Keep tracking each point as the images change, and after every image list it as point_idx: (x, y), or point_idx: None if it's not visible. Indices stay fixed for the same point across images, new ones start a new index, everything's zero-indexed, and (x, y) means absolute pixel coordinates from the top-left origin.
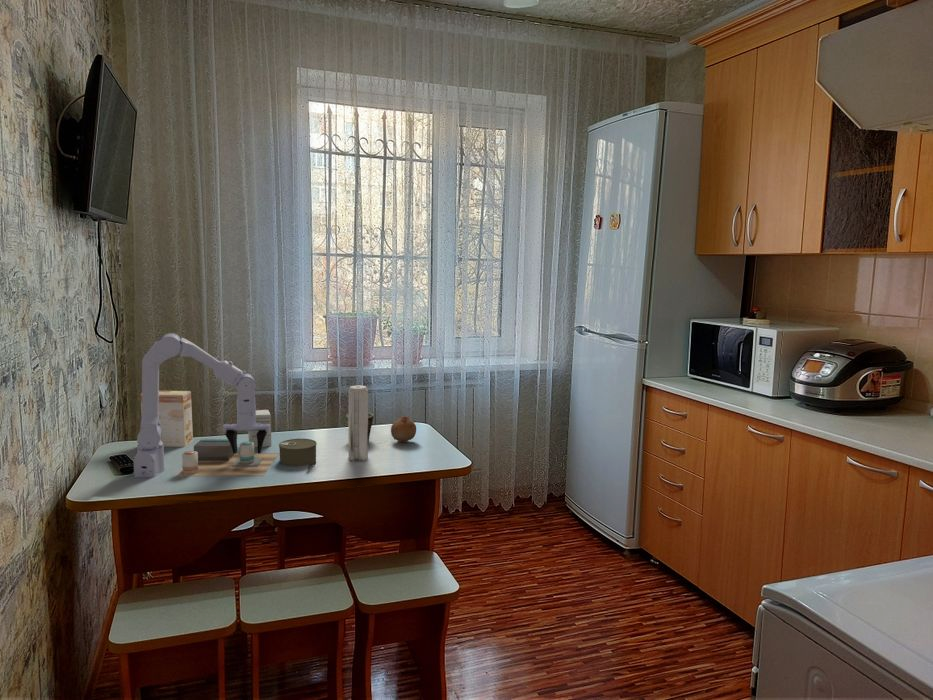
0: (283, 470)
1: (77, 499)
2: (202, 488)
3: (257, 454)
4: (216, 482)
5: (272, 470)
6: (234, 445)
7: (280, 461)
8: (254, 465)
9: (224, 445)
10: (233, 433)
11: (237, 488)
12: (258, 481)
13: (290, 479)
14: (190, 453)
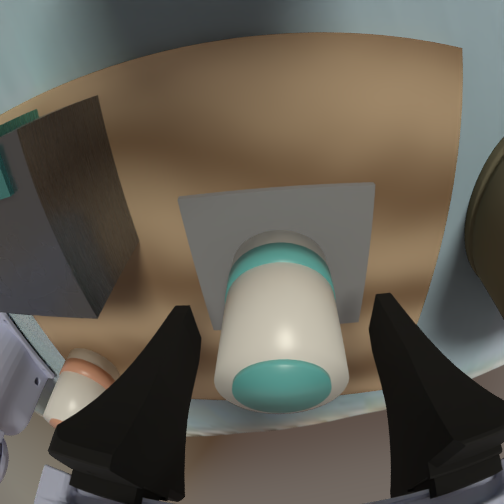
0: (467, 302)
1: (39, 414)
2: (213, 424)
3: (295, 71)
4: (229, 403)
5: (425, 307)
6: (188, 397)
7: (477, 264)
8: (343, 323)
9: (65, 310)
10: (166, 492)
11: (314, 423)
12: (370, 391)
13: (467, 364)
14: None
